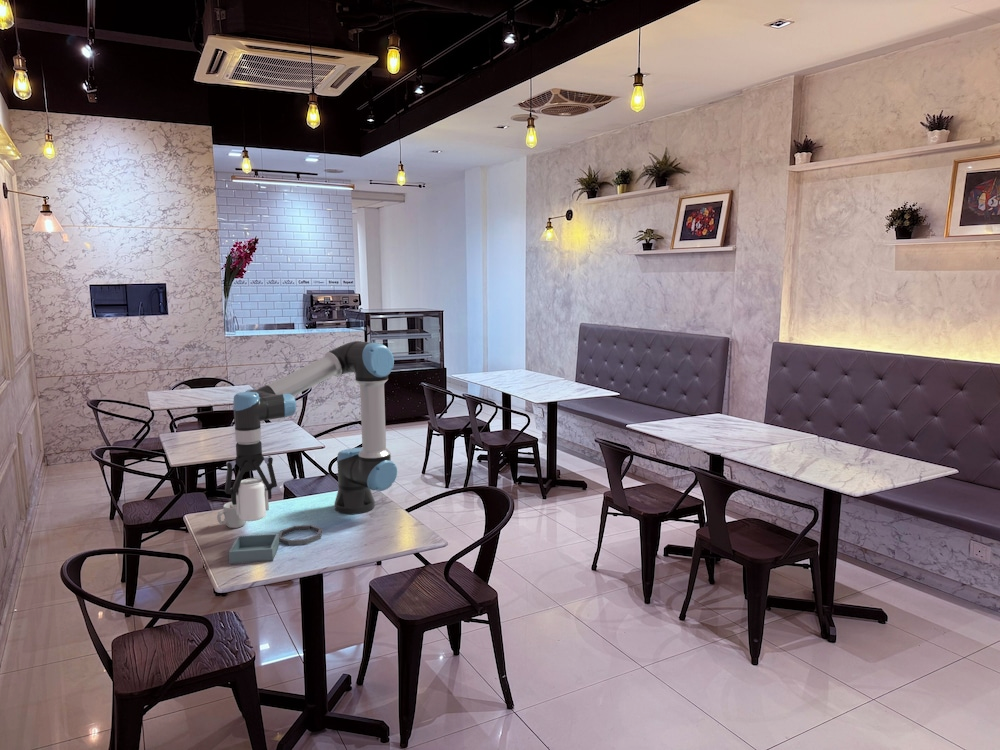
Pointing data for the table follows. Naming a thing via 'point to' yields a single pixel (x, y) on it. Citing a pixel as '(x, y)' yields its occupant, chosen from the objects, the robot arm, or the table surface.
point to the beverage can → (252, 499)
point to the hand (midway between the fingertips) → (252, 511)
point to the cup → (230, 516)
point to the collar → (300, 541)
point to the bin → (254, 548)
